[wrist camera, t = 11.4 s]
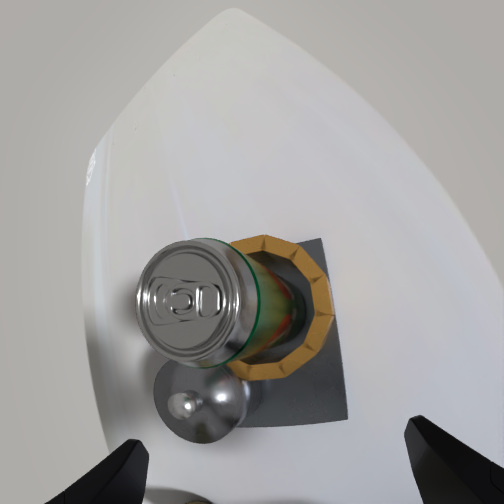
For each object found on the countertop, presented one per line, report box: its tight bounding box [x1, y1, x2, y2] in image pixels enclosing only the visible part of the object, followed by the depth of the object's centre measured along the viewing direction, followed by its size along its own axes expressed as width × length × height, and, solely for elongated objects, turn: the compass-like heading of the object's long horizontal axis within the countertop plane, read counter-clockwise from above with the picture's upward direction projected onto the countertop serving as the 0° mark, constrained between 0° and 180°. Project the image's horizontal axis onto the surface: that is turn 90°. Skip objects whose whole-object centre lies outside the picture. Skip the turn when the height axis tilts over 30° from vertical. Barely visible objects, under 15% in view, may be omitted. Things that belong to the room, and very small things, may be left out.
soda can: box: [135, 238, 305, 369], centre depth 15 cm, size 5×5×12 cm
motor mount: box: [154, 235, 348, 444], centre depth 18 cm, size 14×12×8 cm
